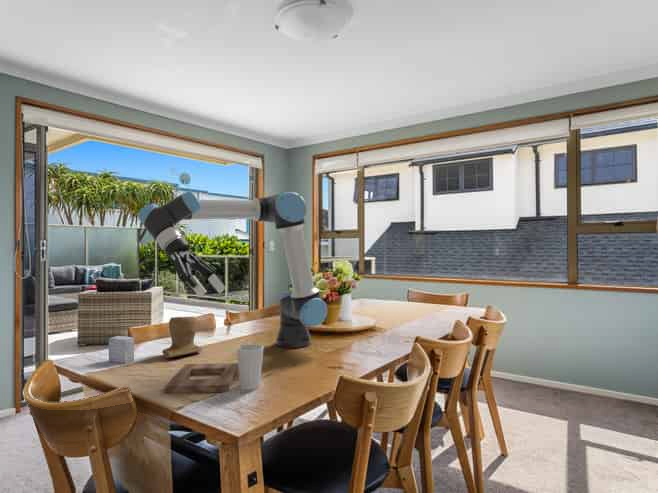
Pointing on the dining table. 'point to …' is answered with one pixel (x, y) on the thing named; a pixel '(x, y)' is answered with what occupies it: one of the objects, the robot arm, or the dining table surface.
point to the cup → (250, 366)
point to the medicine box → (121, 349)
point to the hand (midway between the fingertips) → (213, 292)
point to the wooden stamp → (182, 337)
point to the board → (203, 385)
